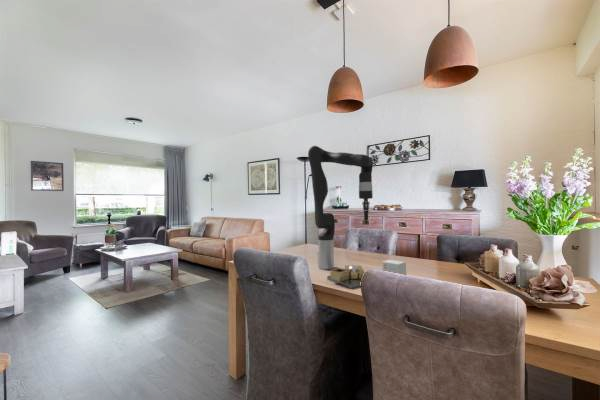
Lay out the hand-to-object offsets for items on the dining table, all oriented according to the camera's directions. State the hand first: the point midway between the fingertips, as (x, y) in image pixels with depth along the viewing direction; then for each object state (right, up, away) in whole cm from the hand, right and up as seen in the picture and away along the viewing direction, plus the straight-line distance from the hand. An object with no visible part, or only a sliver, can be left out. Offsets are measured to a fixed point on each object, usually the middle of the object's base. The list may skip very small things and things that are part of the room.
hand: (366, 220), depth 149 cm
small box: (+4, -29, -33) cm, 44 cm away
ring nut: (-14, -27, -17) cm, 35 cm away
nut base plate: (-12, -29, -17) cm, 36 cm away
